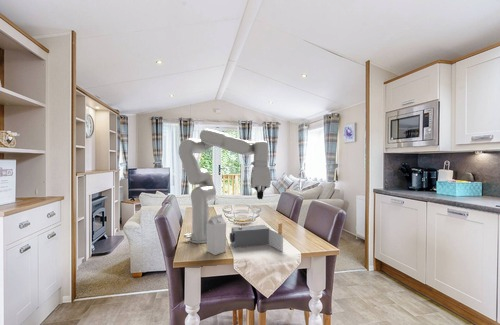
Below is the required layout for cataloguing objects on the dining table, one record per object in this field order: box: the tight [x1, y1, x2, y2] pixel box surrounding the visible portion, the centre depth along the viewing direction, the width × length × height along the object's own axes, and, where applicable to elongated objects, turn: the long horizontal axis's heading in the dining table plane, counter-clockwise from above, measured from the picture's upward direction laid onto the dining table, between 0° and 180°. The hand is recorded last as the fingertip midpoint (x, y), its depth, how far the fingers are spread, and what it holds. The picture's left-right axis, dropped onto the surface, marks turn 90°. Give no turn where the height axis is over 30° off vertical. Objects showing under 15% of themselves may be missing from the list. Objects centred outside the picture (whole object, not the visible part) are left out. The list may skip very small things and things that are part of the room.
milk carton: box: [206, 213, 227, 256], centre depth 138 cm, size 7×7×19 cm
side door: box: [268, 222, 284, 252], centre depth 145 cm, size 12×2×14 cm, turn 27°
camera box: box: [229, 224, 271, 249], centre depth 151 cm, size 22×8×10 cm, turn 109°
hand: (260, 198), depth 143 cm, fingers closed
